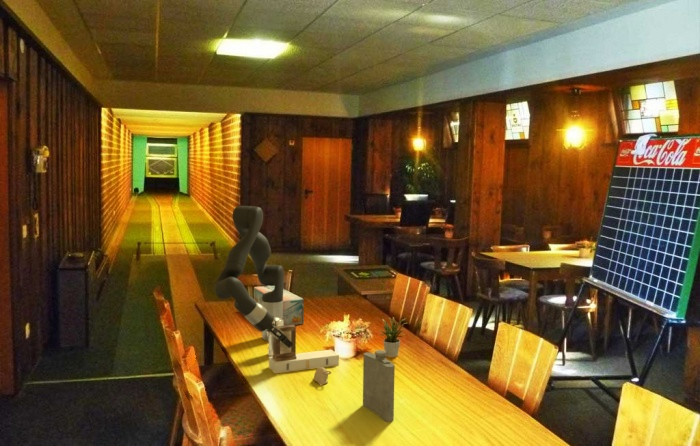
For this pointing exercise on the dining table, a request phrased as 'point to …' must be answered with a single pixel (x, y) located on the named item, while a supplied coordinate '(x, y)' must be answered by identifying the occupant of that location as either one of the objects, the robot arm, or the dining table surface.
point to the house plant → (392, 338)
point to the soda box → (285, 305)
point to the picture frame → (281, 349)
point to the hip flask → (378, 384)
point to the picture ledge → (305, 361)
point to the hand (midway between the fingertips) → (289, 344)
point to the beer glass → (278, 322)
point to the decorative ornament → (321, 375)
